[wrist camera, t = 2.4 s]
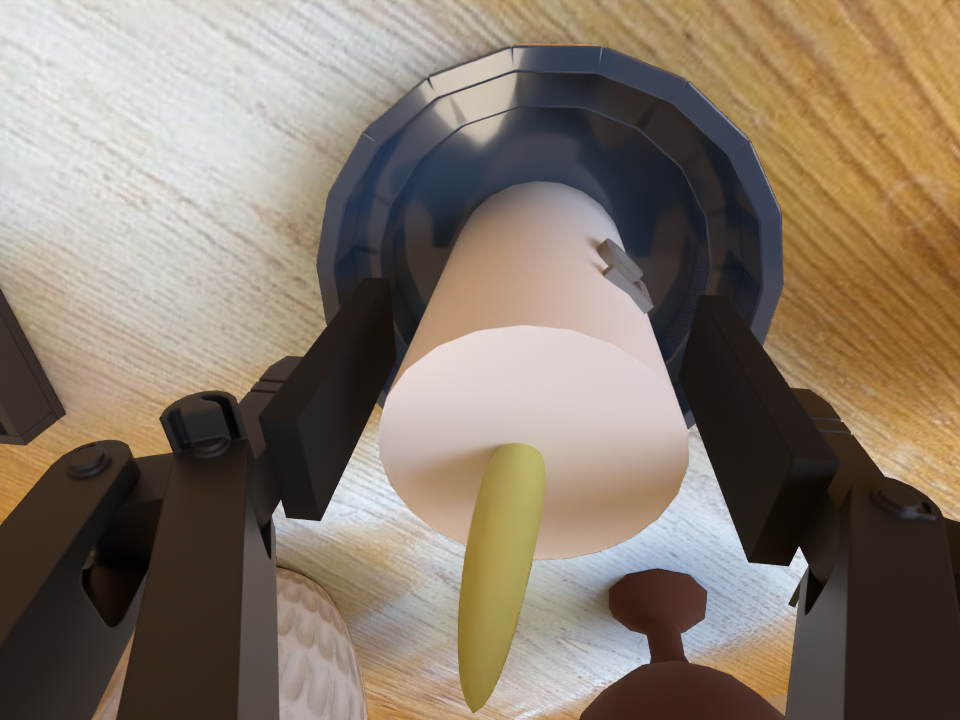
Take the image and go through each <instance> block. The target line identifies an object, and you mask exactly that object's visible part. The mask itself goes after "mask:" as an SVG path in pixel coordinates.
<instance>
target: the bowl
mask: <svg viewBox="0 0 960 720" xmlns="http://www.w3.org/2000/svg"><path fill="white" fill-rule="evenodd" d="M533 181H543V182H555V183H562V184H564V185H567V186H570V187H572V188H575V189H578V190H580V191H583V192H584V193H585V194H587V195H588V196H590V197H591V198H592V199H594V200H595V201H596V202H598V203H599V204H600V205H601V206H602V207H603V208H604V209H605V211H606V212H607V213H608V215H609V216H610V217H611V219H612V220H613V221H614V223H615V225H616V228H617V230H618V233H619V236H620V238H621V241H622V244H623V246H624V249H625V252H626V254H627V255H628V256H629V257H630V258H631V259H632V260H633V261H634V262H635V264H636V265H637V266H638V267H639V268H640V269H641V271H642V273H643V276H641V277H640V278H639V279H640V280H641V281H642V282H643V283H644V284H645V285H646V288H647V290H648V293H649V296H650V298H651V301H652V303H653V306H654V307H653V308H652V309H651V310H649V311H648V312H647V315H648V318H649V321H650V324H651V326H652V329H653V332H654V335H655V338H656V341H657V344H658V346H659V349H660V352H661V355H662V358H663V361H664V364H665V366H666V369H667V372H668V375H669V378H670V381H671V384H672V386H673V389H674V392H675V395H676V398H677V401H678V404H679V406H680V409H681V412H682V415H683V418H684V421H685V424H686V426H687V429H689V428H691V427H692V426H693V425H695V424H696V422H695V420H694V417H693V414H692V412H691V409H690V406H689V404H688V401H687V398H686V396H685V393H684V390H683V388H682V385H681V382H680V380H679V373H680V369H681V365H682V361H683V357H684V353H685V349H686V345H687V341H688V337H689V333H690V329H691V325H692V321H693V317H694V313H695V309H696V305H697V301H698V297H699V295H714V296H728V297H729V299H730V300H731V302H732V303H733V305H734V306H735V308H736V309H737V310H738V312H739V313H740V315H741V316H742V318H743V319H744V321H745V322H746V324H747V325H748V327H749V328H750V330H751V331H752V332H753V334H754V335H755V337H756V338H757V340H758V341H759V343H760V344H761V346H762V347H763V345H764V342H765V339H766V336H767V333H768V330H769V327H770V324H771V321H772V318H773V316H774V313H775V310H776V307H777V304H778V301H779V298H780V295H781V292H782V289H783V284H784V281H783V241H782V214H781V209H780V207H779V204H778V202H777V200H776V197H775V195H774V193H773V191H772V188H771V186H770V184H769V181H768V179H767V177H766V174H765V172H764V170H763V168H762V165H761V163H760V161H759V158H758V156H757V154H756V151H755V149H754V147H753V144H752V142H751V141H750V140H749V138H748V137H747V136H746V135H745V134H744V133H743V132H742V131H741V130H740V129H739V128H738V127H737V126H736V125H735V124H734V123H733V122H732V121H731V120H730V119H729V118H728V117H727V116H726V115H724V114H723V113H722V112H721V111H720V110H719V109H718V108H717V107H716V106H715V105H714V104H713V103H712V102H711V101H710V100H709V99H708V98H707V97H706V96H705V95H704V94H703V93H702V92H701V91H700V90H699V89H697V88H696V87H695V86H694V85H693V84H692V83H691V82H690V81H687V80H686V79H685V78H683V77H680V76H678V75H675V74H673V73H670V72H668V71H665V70H663V69H660V68H658V67H655V66H653V65H650V64H648V63H645V62H643V61H641V60H638V59H636V58H633V57H631V56H628V55H626V54H623V53H621V52H618V51H616V50H613V49H611V48H608V47H605V46H600V45H595V44H581V43H519V44H517V43H516V44H513V45H510V46H507V47H504V48H501V49H499V50H496V51H493V52H490V53H488V54H485V55H482V56H479V57H477V58H474V59H471V60H468V61H466V62H463V63H460V64H458V65H455V66H452V67H449V68H447V69H444V70H441V71H438V72H436V73H433V74H430V75H429V76H428V77H425V78H424V79H423V80H421V81H420V82H419V83H418V84H417V85H416V86H414V87H413V88H412V89H411V90H410V91H409V92H407V93H406V94H405V95H404V96H403V97H401V98H400V99H399V100H398V101H397V102H396V103H394V104H393V105H392V106H391V107H390V108H389V109H387V110H386V111H385V112H384V113H383V114H382V115H380V116H379V117H378V118H377V119H376V120H375V121H373V122H372V123H371V124H370V125H369V126H368V127H366V129H365V131H363V132H362V134H361V136H360V138H359V139H358V141H357V143H356V145H355V147H354V148H353V150H352V152H351V154H350V156H349V157H348V159H347V161H346V163H345V164H344V166H343V168H342V170H341V172H340V173H339V175H338V177H337V179H336V181H335V182H334V184H333V186H332V188H331V190H330V191H329V193H328V197H327V200H326V206H325V213H324V219H323V225H322V231H321V237H320V243H319V249H318V255H317V264H316V266H317V272H318V278H319V284H320V289H321V295H322V301H323V307H324V313H325V319H326V325H328V324H329V323H330V322H331V320H332V319H333V318H334V316H335V315H336V314H337V312H338V311H339V310H340V308H341V307H342V306H343V304H344V303H345V302H346V301H347V299H348V298H349V297H350V295H351V294H352V293H353V291H354V290H355V289H356V287H357V286H358V285H359V283H360V282H361V281H362V280H363V278H364V277H367V278H386V279H390V289H391V300H392V311H393V321H394V332H395V343H396V354H397V359H396V361H395V364H394V366H393V368H392V370H391V372H390V374H389V376H388V379H387V381H386V383H385V385H384V387H383V389H382V391H381V393H380V396H379V398H378V400H377V402H376V403H377V404H378V405H379V406H380V407H381V408H382V409H383V408H384V405H385V401H386V398H387V395H388V393H389V391H390V389H391V387H392V384H393V382H394V380H395V378H396V375H397V373H398V371H399V369H400V366H401V364H402V362H403V360H404V357H405V355H406V353H407V351H408V349H409V346H410V344H411V342H412V340H413V337H414V335H415V333H416V331H417V328H418V326H419V324H420V322H421V319H422V317H423V315H424V313H425V311H426V308H427V306H428V304H429V302H430V299H431V297H432V295H433V293H434V290H435V288H436V286H437V284H438V281H439V279H440V277H441V275H442V273H443V270H444V268H445V266H446V264H447V261H448V259H449V257H450V255H451V252H452V250H453V248H454V246H455V243H456V241H457V239H458V237H459V235H460V232H461V230H462V228H463V227H464V225H465V224H466V222H467V221H468V219H469V218H470V216H471V214H472V213H473V211H474V210H475V209H476V208H478V207H479V206H480V205H481V204H482V203H483V202H484V201H486V200H487V199H488V198H489V197H490V196H491V195H493V194H496V193H498V192H500V191H502V190H504V189H506V188H508V187H510V186H512V185H517V184H522V183H528V182H533Z"/></svg>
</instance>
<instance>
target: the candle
mask: <svg viewBox="0 0 960 720" xmlns="http://www.w3.org/2000/svg"><path fill="white" fill-rule="evenodd" d="M641 276H643V273H642V271H641V269H640V268H639V267H638V266H637V265H636V264H635V262H634V261H633V260H632V259H631V258H630V257H629V256H628V255H627V254H626V252H625V249H624V246H623V244H622V241H621V238H620V236H619V233H618V230H617V228H616V225H615V223H614V221H613V220H612V219H611V217H610V216H609V215H608V213H607V212H606V211H605V209H604V208H603V207H602V206H601V205H600V204H599V203H598V202H596V201H595V200H594V199H592V198H591V197H590V196H588V195H587V194H585V193H584V192H583V191H580V190H578V189H575V188H572V187H570V186H567V185H564V184H562V183H555V182H543V181H533V182H528V183H522V184H517V185H512V186H510V187H508V188H506V189H504V190H502V191H500V192H498V193H496V194H493V195H491V196H490V197H489V198H488V199H487V200H486V201H484V202H483V203H482V204H481V205H480V206H479V207H478V208H476V209H475V210H474V211H473V213H472V214H471V216H470V218H469V219H468V221H467V222H466V224H465V225H464V227H463V228H462V230H461V232H460V235H459V237H458V239H457V241H456V243H455V246H454V248H453V250H452V252H451V255H450V257H449V259H448V261H447V264H446V266H445V268H444V270H443V273H442V275H441V277H440V279H439V281H438V284H437V286H436V288H435V290H434V293H433V295H432V297H431V299H430V302H429V304H428V306H427V308H426V311H425V313H424V315H423V317H422V319H421V322H420V324H419V326H418V328H417V331H416V333H415V335H414V337H413V340H412V342H411V344H410V346H409V349H408V351H407V353H406V355H405V357H404V360H403V362H402V364H401V366H400V369H399V371H398V373H397V375H396V378H395V380H394V382H393V384H392V387H391V389H390V391H389V393H388V395H387V398H386V401H385V405H384V408H383V412H382V415H381V419H380V422H379V426H378V437H379V453H380V459H381V462H382V464H383V467H384V469H385V472H386V474H387V477H388V479H389V482H390V484H391V486H392V487H393V489H394V490H395V491H396V493H397V494H398V495H399V497H400V498H401V499H402V500H403V502H404V503H405V504H406V506H407V507H408V508H409V510H411V511H412V512H413V513H414V514H415V515H417V516H418V517H419V518H420V519H422V520H423V521H424V522H425V523H426V524H428V525H429V526H430V527H431V528H433V529H434V530H435V531H437V532H439V533H441V534H443V535H445V536H447V537H449V538H451V539H452V540H454V541H456V542H458V543H460V544H462V545H464V546H466V552H465V558H464V566H463V573H462V582H461V592H460V601H459V618H458V662H459V673H460V680H461V687H462V691H463V694H464V697H465V700H466V703H467V705H468V706H469V708H470V709H471V711H472V712H473V714H474V713H475V712H476V711H478V710H479V709H480V708H482V707H483V706H484V704H485V703H486V701H487V700H488V698H489V697H490V695H491V694H492V692H493V690H494V688H495V685H496V683H497V681H498V679H499V677H500V674H501V672H502V669H503V666H504V663H505V661H506V658H507V655H508V652H509V649H510V645H511V642H512V639H513V636H514V632H515V629H516V625H517V622H518V618H519V614H520V611H521V607H522V603H523V599H524V595H525V591H526V587H527V582H528V578H529V574H530V570H531V566H532V561H533V560H556V559H569V558H574V557H578V556H583V555H588V554H592V553H597V552H601V551H603V550H605V549H608V548H610V547H612V546H615V545H617V544H619V543H622V542H624V541H626V540H629V539H631V538H632V537H634V536H635V535H637V534H638V533H639V532H641V531H642V530H643V529H645V528H646V527H647V526H649V525H650V524H652V523H653V522H654V521H656V520H657V519H658V518H659V517H660V516H661V514H662V513H663V512H664V511H665V509H666V508H667V507H668V505H669V504H670V503H671V502H672V500H673V499H674V498H675V497H676V495H677V494H678V492H679V489H680V486H681V484H682V481H683V478H684V475H685V473H686V470H687V467H688V465H689V432H688V429H687V426H686V424H685V421H684V418H683V415H682V412H681V409H680V406H679V404H678V401H677V398H676V395H675V392H674V389H673V386H672V384H671V381H670V378H669V375H668V372H667V369H666V366H665V364H664V361H663V358H662V355H661V352H660V349H659V346H658V344H657V341H656V338H655V335H654V332H653V329H652V326H651V324H650V321H649V318H648V315H647V312H648V311H649V310H651V309H652V308H653V307H654V306H653V303H652V301H651V298H650V296H649V293H648V290H647V288H646V285H645V284H644V283H643V282H642V281H641V280H640V279H639V278H640V277H641Z"/></svg>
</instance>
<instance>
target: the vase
mask: <svg viewBox="0 0 960 720" xmlns="http://www.w3.org/2000/svg"><path fill="white" fill-rule="evenodd" d="M276 579H277V623H278V667H279V711H280V720H368V707H367V697H366V692H365V687H364V682H363V677H362V672H361V667H360V663H359V659H358V656H357V653H356V650H355V647H354V644H353V641H352V638H351V635H350V632H349V630H348V628H347V626H346V624H345V622H344V620H343V618H342V616H341V614H340V613H339V611H338V609H337V607H336V606H335V604H334V602H333V600H332V599H331V597H330V596H329V594H328V593H327V592H326V591H325V590H324V589H323V588H322V587H321V586H320V585H318V584H317V583H315V582H314V581H313V580H311V579H309V578H307V577H305V576H303V575H301V574H299V573H296V572H293V571H290V570H287V569H283V568H278V567H276ZM135 629H136V628H135ZM134 633H135V630H134V632H133V634H132V636H131V638H130V640H129V642H128V645H127V647H126V649H125V651H124V653H123V655H122V657H121V659H120V661H119V663H118V665H117V668H116V670H115V672H114V674H113V676H112V678H111V680H110V682H109V684H108V686H107V688H106V691H105V693H104V695H103V697H102V699H101V701H100V703H99V705H98V707H97V709H96V711H95V714H94V716H93V718H92V720H116V717H117V712H118V707H119V703H120V698H121V693H122V689H123V684H124V680H125V675H126V670H127V666H128V661H129V656H130V652H131V647H132V642H133V638H134Z"/></svg>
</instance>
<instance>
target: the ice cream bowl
mask: <svg viewBox="0 0 960 720" xmlns="http://www.w3.org/2000/svg"><path fill="white" fill-rule="evenodd" d="M706 602H707V591H706V590H705V589H704V588H703V587H702V586H701V585H700V584H699V583H697V582H696V581H695V580H694V579H693V578H692V577H691V576H690V575H686V574H681V573H676V572H672V571H667V570H662V569H655V570H650V571H644V572H639V573H634V574H629V575H627V576H625V577H624V578H623V579H622V580H621V581H619V582H618V583H617V584H616V585H615V586H614V587H612V588H611V589H610V590H609V607H610V611H611V613H612V615H613V617H614V618H615V619H617V620H618V621H619V622H620V623H622V624H623V625H624V626H625V627H627V628H628V629H629V630H630V631H634V632H638V633H641V634H645V635H647V639H648V644H649V649H650V654H651V660H650V664H645V665H642V666H640V667H638V668H637V669H635V670H633V671H631V672H630V673H628V674H627V675H625V676H624V677H623V678H621V679H620V680H618V681H617V682H615V683H614V684H612V685H611V686H609V687H608V688H606V689H605V690H604V691H602V692H601V693H600V694H599V696H598V697H597V698H596V699H595V700H594V701H593V702H592V703H591V704H590V705H589V706H588V707H587V708H586V709H585V710H584V711H583V713H582V714H581V716H580V719H579V720H785V716H784V715H782V714H781V713H780V712H779V711H778V710H777V709H775V708H774V707H773V706H772V705H771V704H770V703H768V702H767V701H766V700H765V699H764V698H763V697H761V696H760V695H759V694H758V693H756V692H755V691H753V690H752V689H750V688H749V687H747V686H746V685H745V684H743V683H742V682H740V681H739V680H737V679H736V678H734V677H733V676H731V675H729V674H727V673H724V672H721V671H719V670H716V669H713V668H710V667H706V666H702V665H697V664H692V663H689V662H688V660H687V659H686V657H685V656H684V650H683V645H682V640H681V633H683V632H686V631H687V630H689V629H690V628H691V627H693V626H694V625H696V624H697V623H699V622H700V621H702V620H703V619H704V618H705V610H706Z"/></svg>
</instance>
